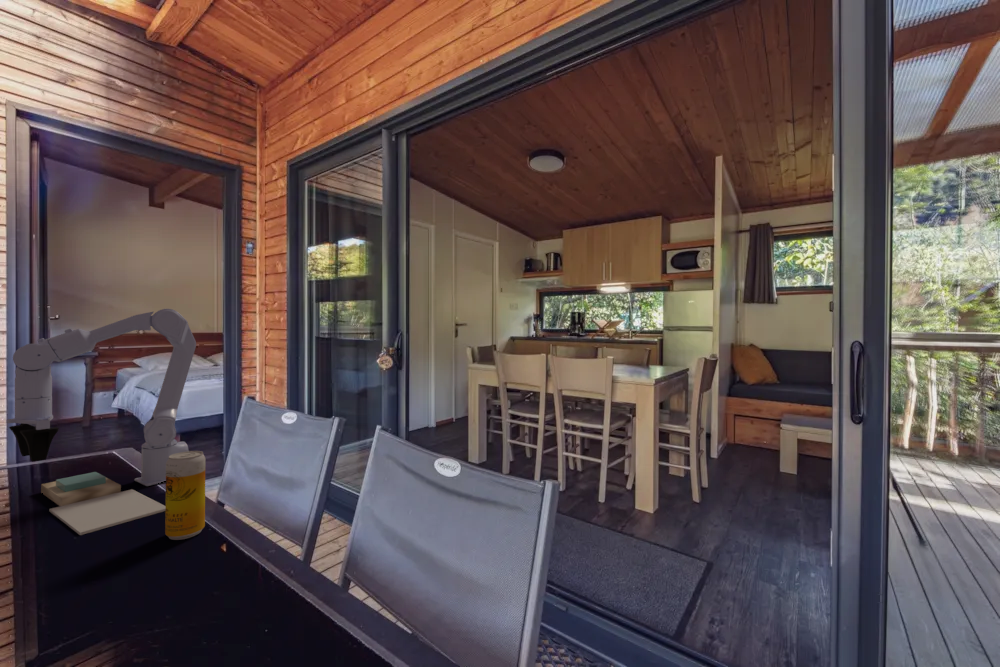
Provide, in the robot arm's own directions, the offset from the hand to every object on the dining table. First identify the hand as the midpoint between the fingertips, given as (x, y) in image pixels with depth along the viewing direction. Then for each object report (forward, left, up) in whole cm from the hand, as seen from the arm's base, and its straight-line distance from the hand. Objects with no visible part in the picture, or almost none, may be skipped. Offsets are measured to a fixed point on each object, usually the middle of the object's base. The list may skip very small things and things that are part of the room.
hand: (33, 457), depth 97 cm
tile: (-7, +2, -8) cm, 11 cm away
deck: (-7, +3, -10) cm, 12 cm away
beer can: (-11, +46, -10) cm, 49 cm away
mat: (-7, +21, -10) cm, 24 cm away
